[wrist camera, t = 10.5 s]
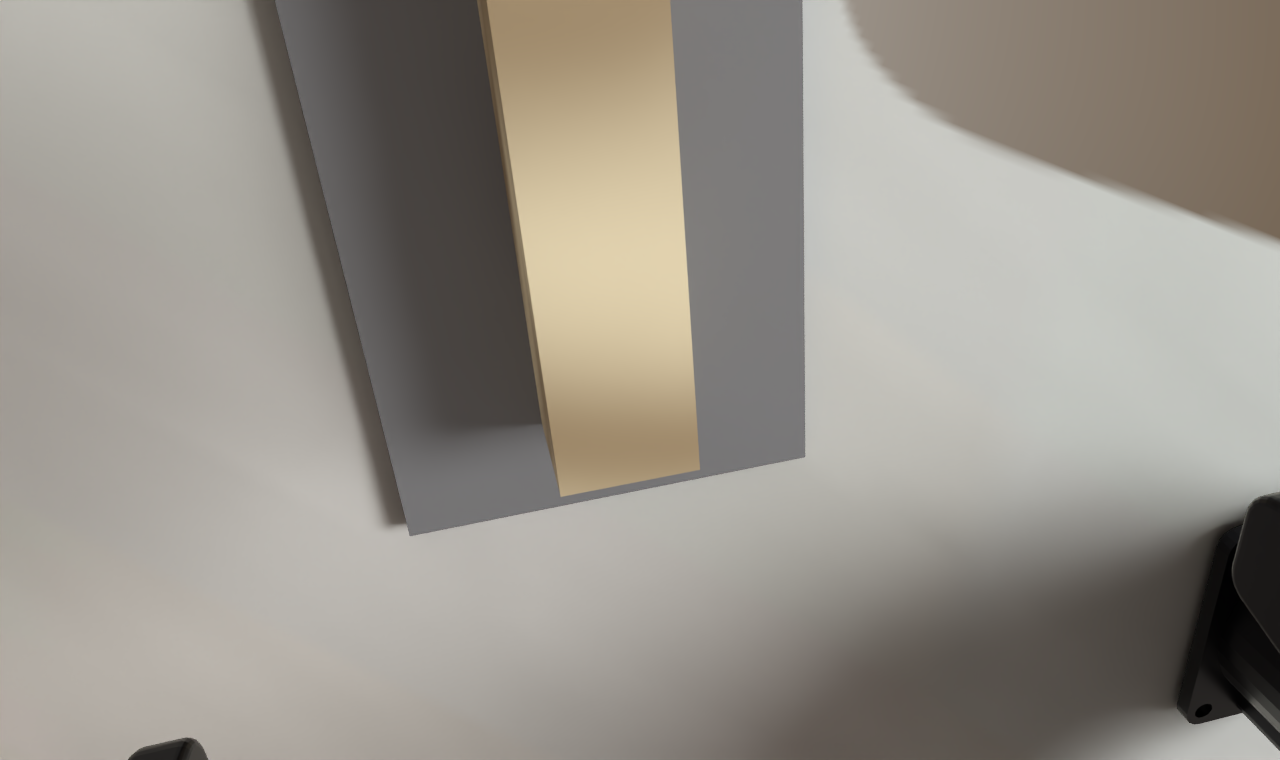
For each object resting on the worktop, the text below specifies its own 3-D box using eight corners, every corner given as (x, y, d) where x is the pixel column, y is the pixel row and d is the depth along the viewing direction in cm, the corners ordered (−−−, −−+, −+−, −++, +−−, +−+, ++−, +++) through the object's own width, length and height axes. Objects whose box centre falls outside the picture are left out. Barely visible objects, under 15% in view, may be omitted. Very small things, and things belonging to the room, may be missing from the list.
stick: (666, 401, 19) (700, 470, 17) (542, 424, 19) (560, 496, 17) (587, -586, 12) (627, -672, 10) (388, -579, 12) (387, -668, 10)
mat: (798, 446, 21) (805, 457, 20) (409, 523, 20) (409, 536, 19) (784, -819, 12) (797, -838, 12) (73, -815, 11) (64, -836, 10)
